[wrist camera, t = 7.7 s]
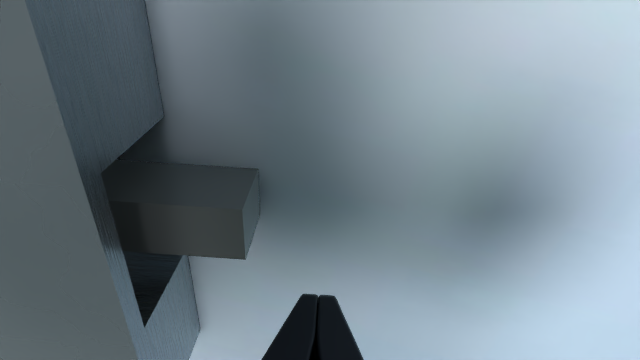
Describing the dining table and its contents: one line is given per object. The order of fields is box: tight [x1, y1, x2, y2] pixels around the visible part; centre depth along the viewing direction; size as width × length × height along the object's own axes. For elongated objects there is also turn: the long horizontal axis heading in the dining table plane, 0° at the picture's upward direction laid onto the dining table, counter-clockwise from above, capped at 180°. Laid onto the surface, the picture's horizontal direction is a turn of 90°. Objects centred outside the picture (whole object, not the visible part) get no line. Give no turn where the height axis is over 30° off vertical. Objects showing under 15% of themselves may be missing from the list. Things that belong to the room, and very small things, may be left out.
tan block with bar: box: [101, 160, 260, 260], centre depth 13 cm, size 4×13×3 cm, turn 87°
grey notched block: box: [0, 0, 200, 360], centre depth 12 cm, size 16×5×5 cm, turn 177°
